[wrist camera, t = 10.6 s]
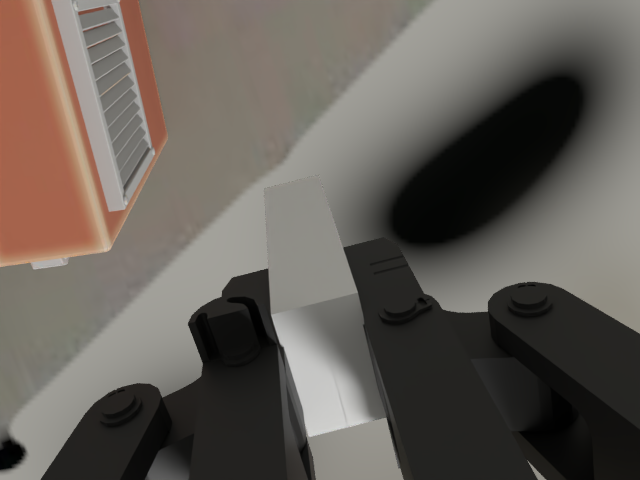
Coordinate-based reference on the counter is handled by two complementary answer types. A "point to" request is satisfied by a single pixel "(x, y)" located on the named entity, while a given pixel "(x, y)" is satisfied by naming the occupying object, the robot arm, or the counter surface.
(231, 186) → the counter surface
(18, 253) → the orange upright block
